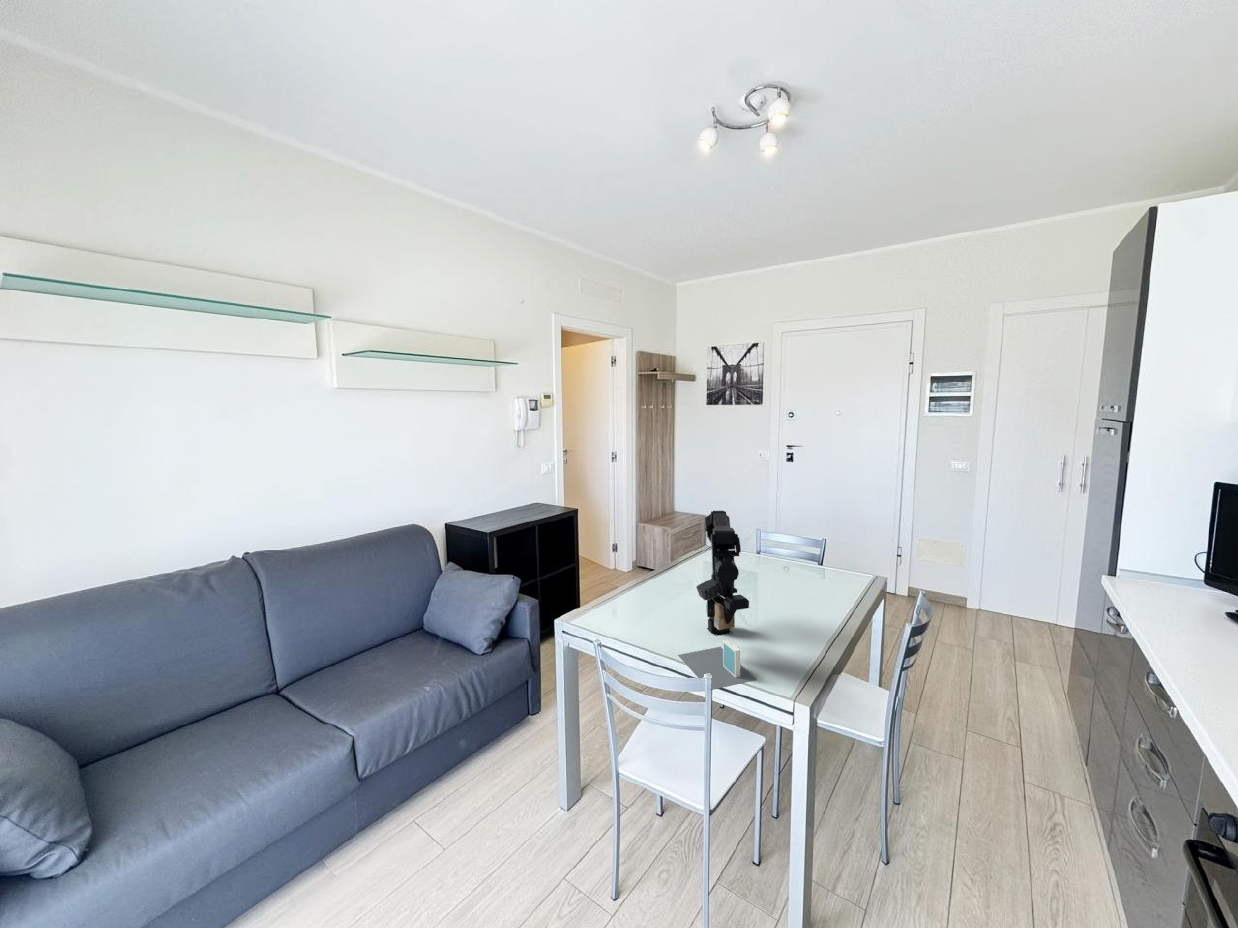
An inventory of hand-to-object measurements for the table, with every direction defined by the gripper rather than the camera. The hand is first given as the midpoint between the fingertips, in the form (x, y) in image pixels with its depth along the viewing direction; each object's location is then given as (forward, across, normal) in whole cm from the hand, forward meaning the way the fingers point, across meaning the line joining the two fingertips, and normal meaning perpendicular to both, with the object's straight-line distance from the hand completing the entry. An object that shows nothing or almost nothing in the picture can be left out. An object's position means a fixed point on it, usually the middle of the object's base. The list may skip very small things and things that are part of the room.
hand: (725, 621), depth 151 cm
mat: (+12, +3, -5) cm, 14 cm away
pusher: (+2, 0, 0) cm, 2 cm away
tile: (+12, +7, -2) cm, 14 cm away
